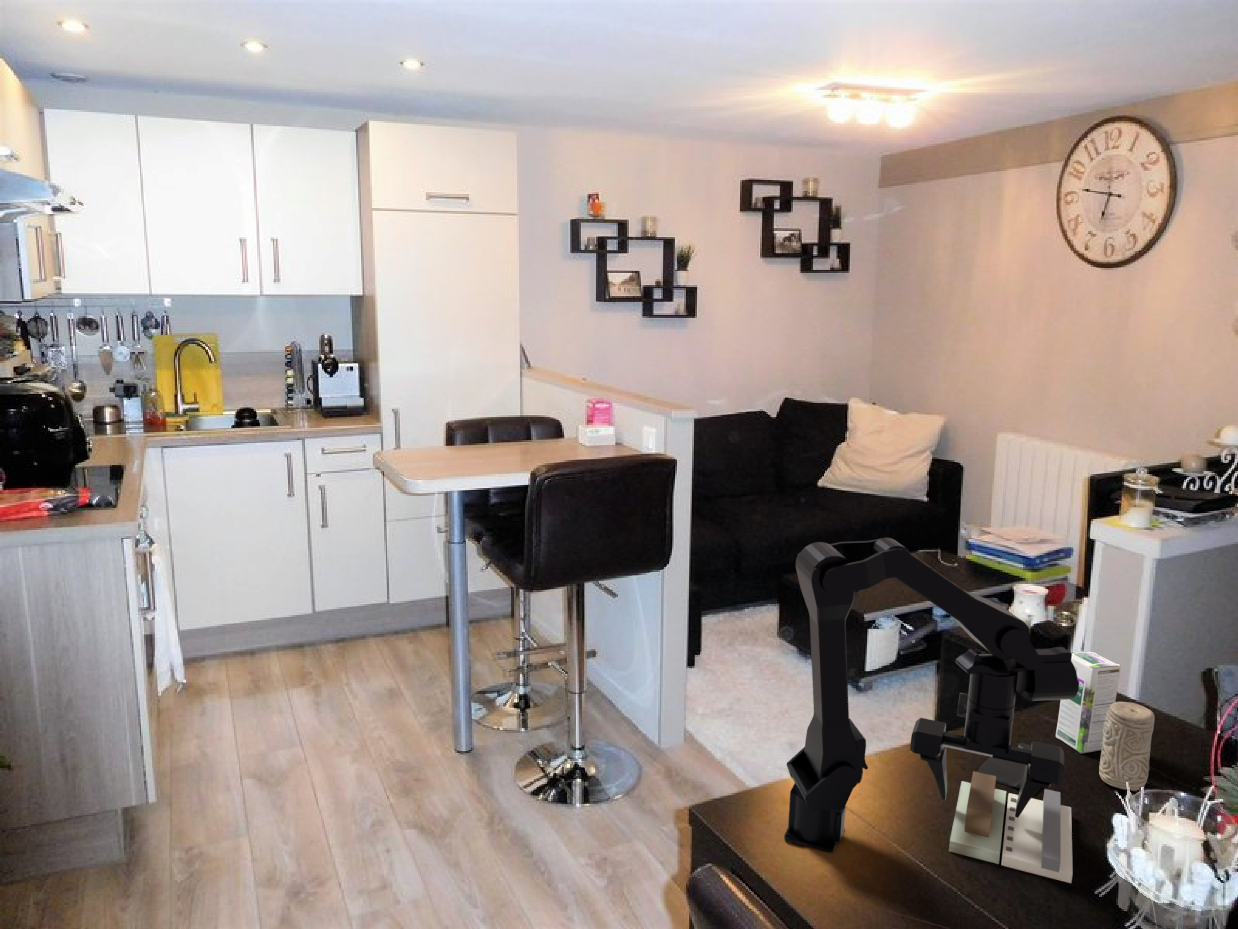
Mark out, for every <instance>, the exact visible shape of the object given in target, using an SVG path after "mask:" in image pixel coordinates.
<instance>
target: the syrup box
mask: <svg viewBox="0 0 1238 929" xmlns="http://www.w3.org/2000/svg"><path fill="white" fill-rule="evenodd" d="M1071 662H1072V663H1073V665H1074V667H1075V670H1076V673H1077V679H1078V681H1079V689H1078V692H1077V695H1076V696H1075V697H1074V698H1073V699H1066V700H1060V703H1059V711H1058V718H1057V725H1056V731H1055V738H1057V739H1058V740H1060V741H1062V742H1063V743H1065V744H1066V745H1068V746H1069V747H1071V748H1073V749H1074V750H1075V751H1077V752H1078V753H1079V754H1086V753H1093V752H1097V751H1101V750H1102V746H1103V744H1102V741H1103V727H1104V722H1105V718H1106V712H1107V711H1108V708H1109V707H1110V706H1111V704H1113V703H1115V702H1117V701H1116V699H1117V694H1118V686H1119V679H1120V672H1121V664H1118V663H1116V662H1114V661H1111V660H1110V659H1107V658H1105V657H1104V656H1101V655H1099V654H1097V653H1096V652H1095V651H1080V652H1075V653H1074V652H1073V653H1072V658H1071Z"/></svg>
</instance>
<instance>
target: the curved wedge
mask: <svg viewBox="0 0 1238 929" xmlns="http://www.w3.org/2000/svg"><path fill="white" fill-rule="evenodd" d="M1017 743H1018V744H1017V745H1018V746H1017V747H1018V748H1023V749H1027V750H1031V746H1032V745H1030V744H1027V743H1024V742H1021V741H1018V742H1017ZM1025 768H1026V765H1025V764H1020V763H1016V762H1011V761H1006V760H1002V759H997V758H993V757H988V758H987V759H986V760H985V761H984V762H982V765H980V767H979V768H978V770H977V772H979V773H983V774H988V775H992V776H996V783H997V784H1000V785H1004V786H1006V787H1009V788H1010V787H1011V788H1013V789H1018V790H1020V788H1021V784H1022V781H1023V777H1024V773H1025Z"/></svg>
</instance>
